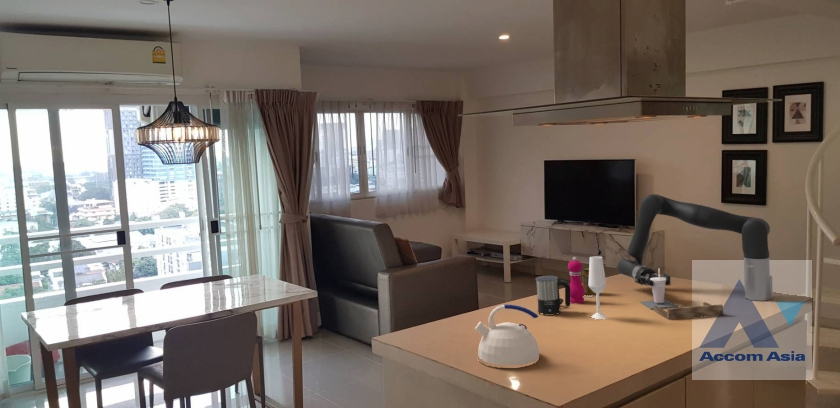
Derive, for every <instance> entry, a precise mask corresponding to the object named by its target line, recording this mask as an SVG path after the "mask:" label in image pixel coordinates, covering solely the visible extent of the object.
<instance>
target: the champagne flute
mask: <svg viewBox="0 0 840 408" xmlns="http://www.w3.org/2000/svg"><path fill="white" fill-rule="evenodd" d="M588 264H589V265H588V266H589V267H588V268H589V283H588V285H589V287H590V289H591V290H592V291H593V292H595V293H596V295H595V297H596V301H595V302H596V312H595V313H594V314H592V315H591V316H590V317H592V318H595V319H594V320H596V319H603V320H606V319H605V318H607V317H608V316H607V315H605V314H603V313H602V312H601V304H600V302H601V301H600V294H601V293H602V292H603V291H604V290H605V289H606V286H607V282H606V281H607V280H606V274H605V267H604V259H603V256H600V255H597V256H596V255H595V256H589V263H588ZM599 293H600V294H599ZM607 319H608V318H607Z"/></svg>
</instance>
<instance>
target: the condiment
mask: <svg viewBox="0 0 840 408" xmlns="http://www.w3.org/2000/svg"><path fill="white" fill-rule="evenodd" d="M581 278H582V280H581V283H582V285H583V287H584V290H585V294H584V295H586V297H585V298H592V297H596V293H595V292H593V291H592V290H591V289H590V287H589V285H588V283H589V267H584V268H583V267H582V274H581ZM600 294H601V292H600V293H599V295H600ZM587 295H588V296H587ZM589 295H590V296H589ZM591 295H594V296H591Z"/></svg>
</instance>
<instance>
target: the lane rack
mask: <svg viewBox="0 0 840 408" xmlns="http://www.w3.org/2000/svg"><path fill="white" fill-rule="evenodd" d="M653 312H655V313H656V314H658V315H660V316H662V317H664V318H666V319H667V320H669V321H670V320H681V319H693V318H695V317H696V318H705V317H704V316H710V317H718V316H717V315H723V316H724V305H723V304H722V303H721V304H710V303H708V302H705V301H704V302H702V305H695V306H685V305H683V304H682V303H679V304H678V308H666V309H661V308H659V307H657V306H654V309H653ZM701 316H702V317H701Z"/></svg>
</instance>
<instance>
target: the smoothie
mask: <svg viewBox="0 0 840 408" xmlns="http://www.w3.org/2000/svg"><path fill="white" fill-rule="evenodd" d="M657 270H658V273H657V274H658V275H659V277H654V278H650V280H652V281H653V286H651V290H652V297H653V301H654V302H656V303H663V302H664V300H665V293H666V292H665V291H666V284H665V283H666V278H662V277H660V275H661V269H660V267H659V268H658V269H657Z"/></svg>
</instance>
